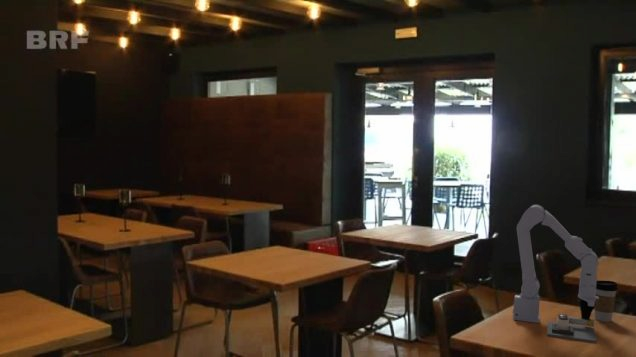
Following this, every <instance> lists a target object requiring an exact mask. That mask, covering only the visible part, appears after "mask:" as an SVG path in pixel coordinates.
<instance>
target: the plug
mask: <svg viewBox="0 0 636 357" xmlns="http://www.w3.org/2000/svg"><path fill="white" fill-rule="evenodd" d="M556 323H557V326H555V329H561V330H568V331H570V328H569V324H570V323H569V319H568V317H566V316H558V315H557V318H556Z"/></svg>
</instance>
